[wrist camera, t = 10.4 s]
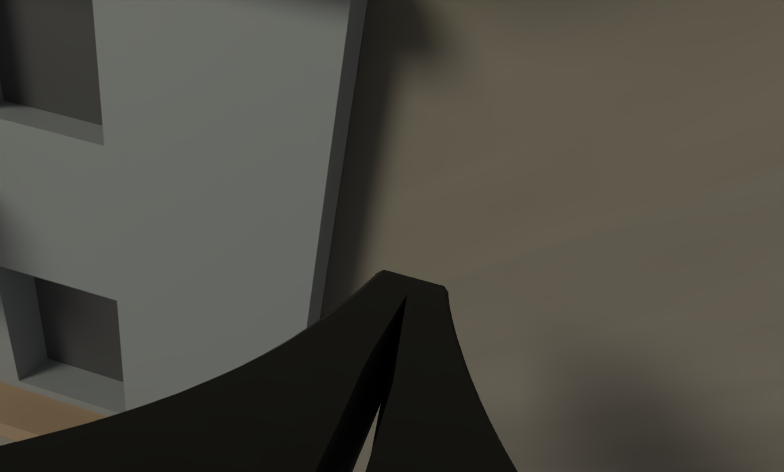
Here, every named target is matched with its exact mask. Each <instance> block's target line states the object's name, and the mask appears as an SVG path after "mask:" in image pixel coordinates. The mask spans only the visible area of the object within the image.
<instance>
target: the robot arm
mask: <svg viewBox="0 0 784 472" xmlns="http://www.w3.org/2000/svg"><path fill="white" fill-rule="evenodd" d="M380 404H381V405H380ZM379 406H380V410H379V415H378V420H377V425H376V431H375V436H374V441H373V447H372V452H371V456H370V459H369V462H368V466H367V469H366V472H517V470H516V468H515V466H514V465H513V463H512V461H511V460H510V458H509V456H508V454H507V453H506V451H505V449H504V447H503V445H502V443H501V441H500V440H499V438H498V436H497V434H496V432H495V430H494V428H493V426H492V424H491V422H490V420H489V418H488V416H487V414H486V412H485V409H484V407H483V405H482V403H481V401H480V398H479V396H478V394H477V391H476V389H475V386H474V384H473V382H472V379H471V377H470V374H469V371H468V369H467V366H466V363H465V360H464V357H463V354H462V351H461V348H460V345H459V342H458V339H457V335H456V332H455V328H454V324H453V320H452V316H451V311H450V305H449V298H448V292H447V290H446V288H445V286H442V285H438V284H434V283H431V282H427V281H423V280H420V279H416V278H412V277H408V276H405V275H401V274H397V273H394V272H390V271H386V270H382V271H380V272H378V273H377V274H376V275H375V276H374V277H372V278H371V279H370V280H369V281H368V282H367V283H366V284H365V285H364V286H363V287H361V288H360V289H359V290H358V291H357V292H355V293H354V294H353V295H352V296H350V297H349V298H348V299H347V300H345V301H344V302H343V303H341V304H340V305H339V306H337V307H336V308H335V309H333V310H332V311H331V312H329V313H328V314H327V315H325V316H324V317H323V318H321V319H320V320H318V321H317V322H315V323H314V324H312V325H311V326H309V327H308V328H306V329H305V330H303V331H301V332H300V333H298V334H297V335H295V336H294V337H292V338H291V339H289V340H287V341H286V342H284V343H282V344H281V345H279V346H277V347H275V348H274V349H272V350H270V351H268V352H266V353H265V354H263V355H261V356H259V357H257V358H255V359H253V360H251V361H249V362H247V363H245V364H244V365H242V366H239V367H237V368H235V369H233V370H231V371H229V372H226V373H224V374H222V375H220V376H218V377H215V378H213V379H211V380H208V381H206V382H204V383H201V384H199V385H196V386H194V387H192V388H189V389H187V390H185V391H182V392H179V393H177V394H174V395H171V396H169V397H166V398H163V399H160V400H157V401H155V402H152V403H149V404H146V405H143V406H140V407H137V408H134V409H131V410H128V411H125V412H122V413H119V414H115V415H112V416H109V417H106V418H103V419H99V420H96V421H93V422H89V423H86V424H82V425H79V426H75V427H71V428H67V429H63V430H60V431H56V432H52V433H48V434H44V435H40V436H37V437H33V438H29V439H25V440H21V441H18V442H14V443H10V444H6V445H2V446H0V472H352V471H353V469H354V466H355V464H356V462H357V459H358V457H359V454H360V452H361V450H362V447H363V445H364V442H365V440H366V438H367V435H368V433H369V430H370V428H371V426H372V423H373V421H374V418H375V416H376V413H377V411H378V409H379Z"/></svg>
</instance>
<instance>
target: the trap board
mask: <svg viewBox="0 0 784 472" xmlns="http://www.w3.org/2000/svg"><path fill="white" fill-rule="evenodd" d="M367 1H368V0H0V436H2V437H5V438H8V439H11V440H14V441H17V442H18V441H21V440H25V439H29V438H33V437H37V436H40V435H44V434H48V433H52V432H56V431H60V430H63V429H67V428H71V427H75V426H79V425H82V424H86V423H89V422H93V421H96V420H99V419H103V418H106V417H109V416H112V415H115V414H119V413H122V412H125V411H128V410H131V409H134V408H137V407H140V406H143V405H146V404H149V403H152V402H155V401H157V400H160V399H163V398H166V397H169V396H171V395H174V394H177V393H179V392H182V391H185V390H187V389H189V388H192V387H194V386H196V385H199V384H201V383H204V382H206V381H208V380H211V379H213V378H215V377H218V376H220V375H222V374H224V373H226V372H229V371H231V370H233V369H235V368H237V367H239V366H242V365H244V364H245V363H247V362H249V361H251V360H253V359H255V358H257V357H259V356H261V355H263V354H265V353H266V352H268V351H270V350H272V349H274V348H275V347H277V346H279V345H281V344H282V343H284V342H286V341H287V340H289V339H291V338H292V337H294V336H295V335H297V334H298V333H300V332H301V331H303V330H305V329H306V328H308V327H309V326H311V325H312V324H314V323H315V322H317V321H318V320H320V316H321V309H322V302H323V296H324V289H325V282H326V275H327V269H328V262H329V255H330V249H331V242H332V235H333V229H334V222H335V215H336V208H337V202H338V195H339V188H340V182H341V175H342V168H343V162H344V155H345V148H346V142H347V135H348V128H349V121H350V115H351V108H352V101H353V95H354V88H355V81H356V75H357V68H358V61H359V55H360V48H361V41H362V34H363V28H364V21H365V14H366V8H367Z"/></svg>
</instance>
